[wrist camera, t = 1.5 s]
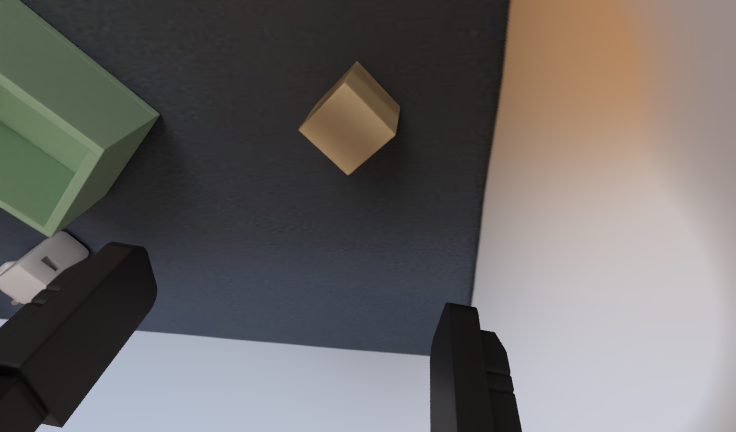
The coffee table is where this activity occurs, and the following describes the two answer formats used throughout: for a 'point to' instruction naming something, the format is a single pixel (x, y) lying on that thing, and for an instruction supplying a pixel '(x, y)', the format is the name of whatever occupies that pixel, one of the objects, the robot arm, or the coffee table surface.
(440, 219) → the coffee table surface
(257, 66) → the coffee table surface
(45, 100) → the bin
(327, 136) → the block
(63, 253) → the power adapter
